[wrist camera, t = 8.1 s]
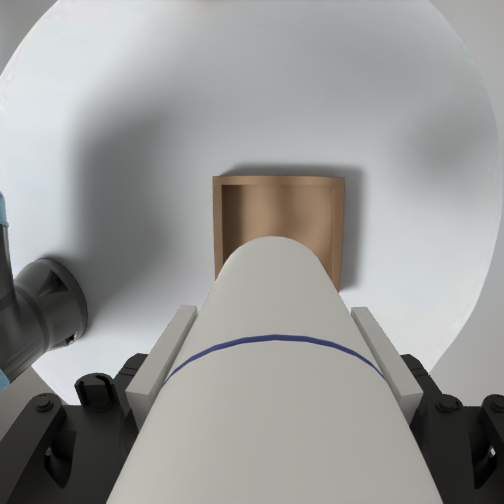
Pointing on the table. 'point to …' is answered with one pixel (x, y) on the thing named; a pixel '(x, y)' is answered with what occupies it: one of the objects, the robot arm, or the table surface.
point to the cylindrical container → (275, 400)
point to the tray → (280, 215)
